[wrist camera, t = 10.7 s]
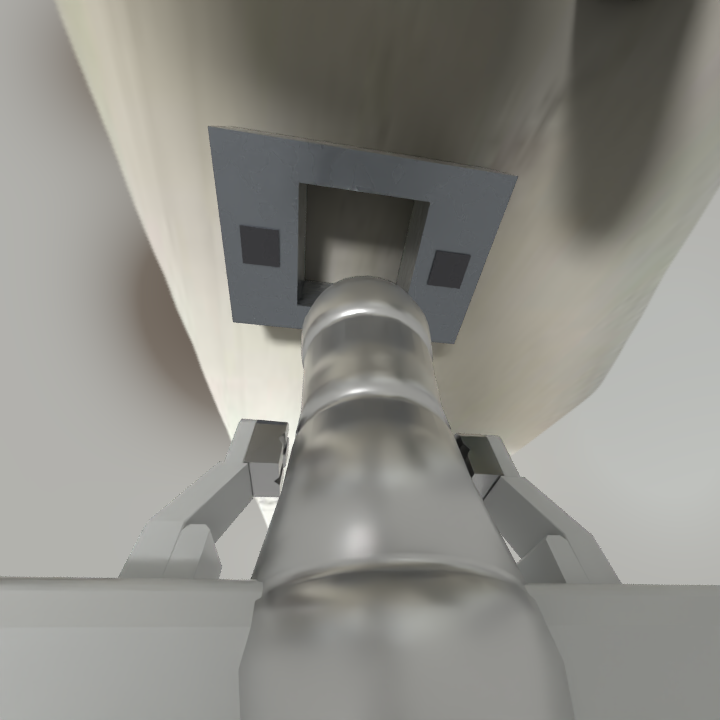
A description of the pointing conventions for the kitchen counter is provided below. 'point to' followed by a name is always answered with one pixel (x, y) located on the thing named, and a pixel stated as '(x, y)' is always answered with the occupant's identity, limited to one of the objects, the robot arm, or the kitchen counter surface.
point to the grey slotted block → (357, 173)
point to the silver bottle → (387, 546)
